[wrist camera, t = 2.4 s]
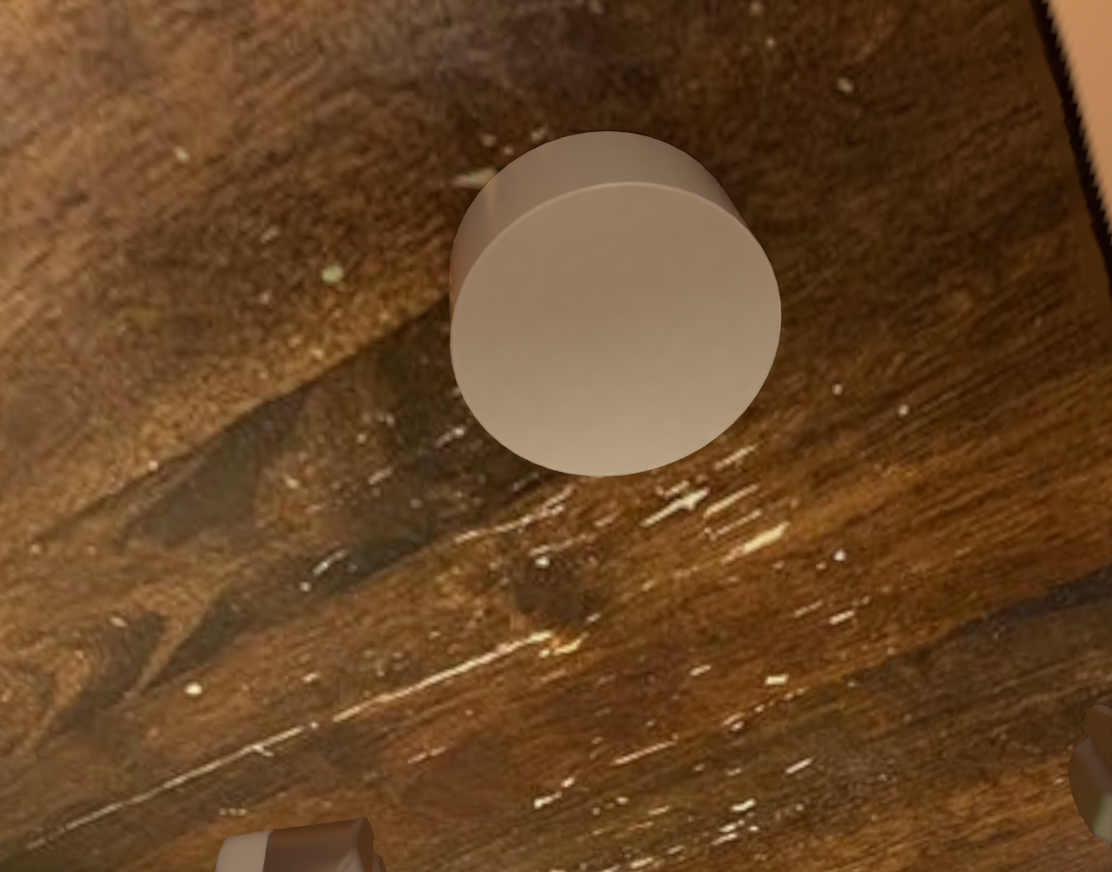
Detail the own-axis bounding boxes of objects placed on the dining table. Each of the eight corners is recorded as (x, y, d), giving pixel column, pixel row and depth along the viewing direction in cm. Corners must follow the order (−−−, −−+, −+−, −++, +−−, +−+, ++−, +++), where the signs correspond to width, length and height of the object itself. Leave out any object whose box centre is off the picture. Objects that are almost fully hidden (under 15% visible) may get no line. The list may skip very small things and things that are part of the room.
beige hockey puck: (746, 110, 20) (789, 160, 17) (742, 383, 24) (776, 455, 21) (424, 151, 20) (422, 208, 17) (472, 419, 23) (475, 497, 21)
